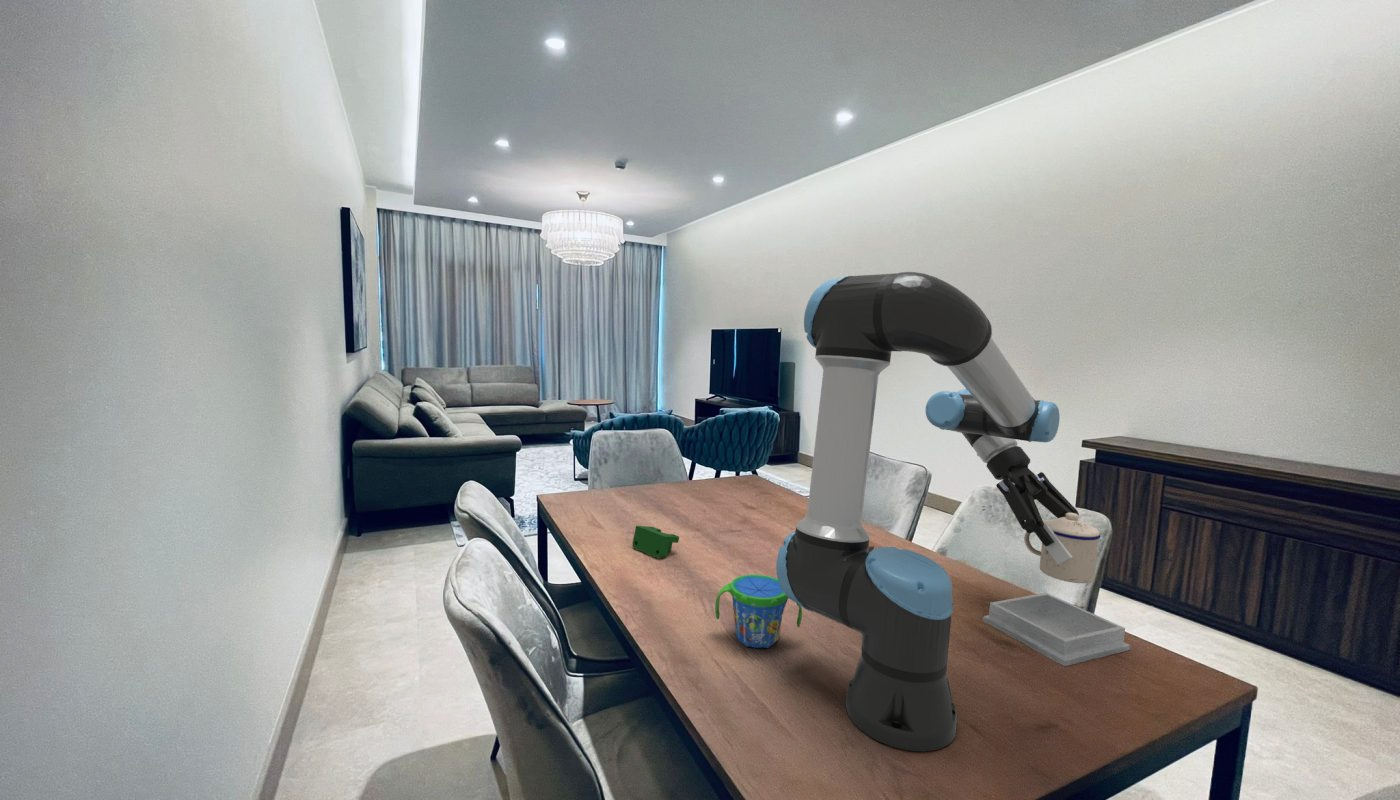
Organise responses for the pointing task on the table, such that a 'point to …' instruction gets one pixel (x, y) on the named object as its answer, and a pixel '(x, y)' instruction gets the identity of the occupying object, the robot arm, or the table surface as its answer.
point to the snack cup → (757, 609)
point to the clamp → (653, 541)
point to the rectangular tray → (1057, 628)
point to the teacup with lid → (1070, 550)
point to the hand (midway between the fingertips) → (1078, 556)
